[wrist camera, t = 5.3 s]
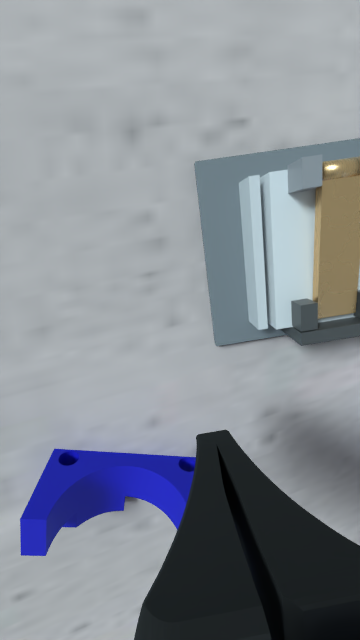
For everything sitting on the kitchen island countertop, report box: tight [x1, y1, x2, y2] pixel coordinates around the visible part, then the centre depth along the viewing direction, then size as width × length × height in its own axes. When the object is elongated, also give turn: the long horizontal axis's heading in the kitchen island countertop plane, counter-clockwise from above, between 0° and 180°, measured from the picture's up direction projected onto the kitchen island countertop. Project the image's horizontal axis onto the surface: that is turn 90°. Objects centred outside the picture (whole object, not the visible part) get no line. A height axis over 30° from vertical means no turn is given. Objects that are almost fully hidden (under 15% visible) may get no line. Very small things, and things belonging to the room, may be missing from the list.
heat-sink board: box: [194, 138, 360, 346], centre depth 17 cm, size 14×12×5 cm
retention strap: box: [312, 156, 360, 319], centre depth 16 cm, size 2×8×1 cm, turn 8°
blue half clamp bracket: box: [20, 449, 196, 556], centre depth 21 cm, size 12×4×6 cm, turn 82°
